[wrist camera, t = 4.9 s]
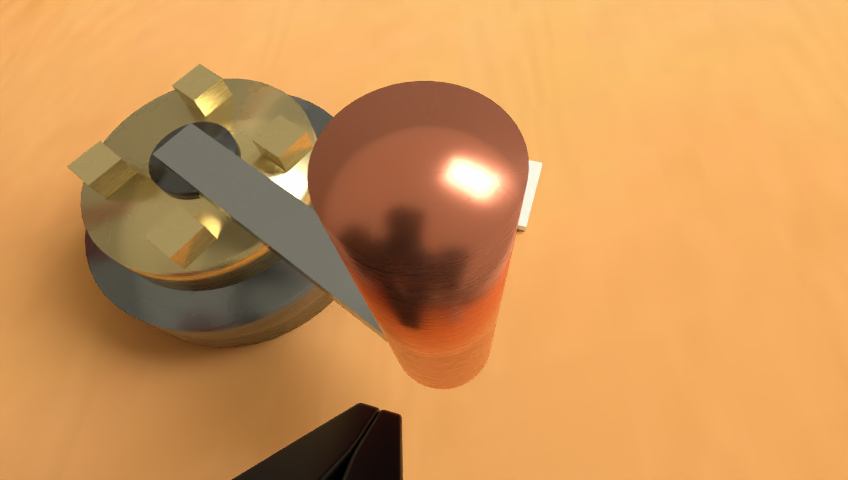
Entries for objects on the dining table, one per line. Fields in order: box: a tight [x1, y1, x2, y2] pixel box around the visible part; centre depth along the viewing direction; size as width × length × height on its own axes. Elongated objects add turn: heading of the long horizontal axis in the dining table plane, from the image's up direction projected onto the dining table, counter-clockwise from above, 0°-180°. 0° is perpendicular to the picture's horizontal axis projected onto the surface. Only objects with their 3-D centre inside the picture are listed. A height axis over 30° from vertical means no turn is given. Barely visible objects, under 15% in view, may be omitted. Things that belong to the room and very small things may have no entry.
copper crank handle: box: [67, 64, 529, 389], centre depth 14 cm, size 20×10×12 cm, turn 52°
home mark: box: [517, 160, 542, 231], centre depth 24 cm, size 4×4×1 cm
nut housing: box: [85, 95, 334, 347], centre depth 23 cm, size 13×13×3 cm
